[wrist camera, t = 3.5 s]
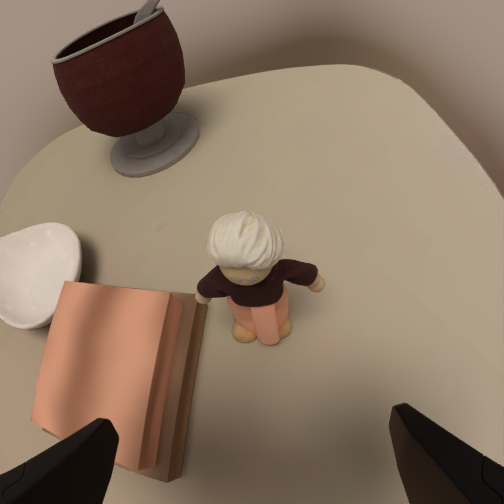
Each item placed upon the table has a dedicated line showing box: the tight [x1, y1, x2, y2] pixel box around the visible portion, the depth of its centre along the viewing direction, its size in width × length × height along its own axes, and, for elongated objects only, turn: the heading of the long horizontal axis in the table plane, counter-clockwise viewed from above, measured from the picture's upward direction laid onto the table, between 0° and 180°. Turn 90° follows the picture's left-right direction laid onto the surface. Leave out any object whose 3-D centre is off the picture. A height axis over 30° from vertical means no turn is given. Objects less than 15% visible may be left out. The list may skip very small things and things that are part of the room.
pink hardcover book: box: [31, 281, 208, 483], centre depth 20 cm, size 12×14×5 cm
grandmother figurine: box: [195, 211, 325, 345], centre depth 17 cm, size 8×4×13 cm, turn 104°
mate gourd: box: [51, 0, 200, 177], centre depth 28 cm, size 16×14×20 cm
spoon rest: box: [0, 222, 82, 330], centre depth 25 cm, size 24×12×7 cm, turn 91°
